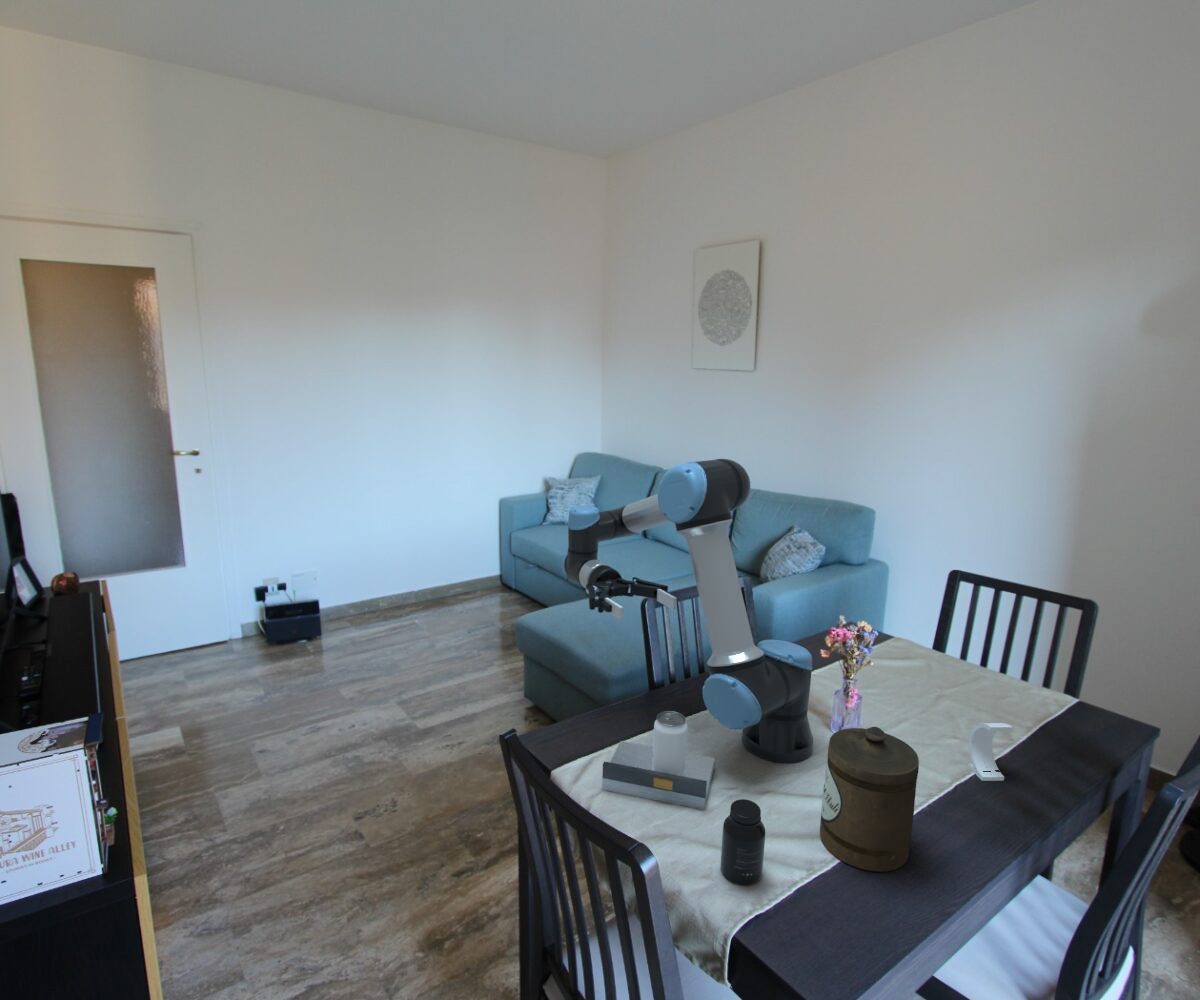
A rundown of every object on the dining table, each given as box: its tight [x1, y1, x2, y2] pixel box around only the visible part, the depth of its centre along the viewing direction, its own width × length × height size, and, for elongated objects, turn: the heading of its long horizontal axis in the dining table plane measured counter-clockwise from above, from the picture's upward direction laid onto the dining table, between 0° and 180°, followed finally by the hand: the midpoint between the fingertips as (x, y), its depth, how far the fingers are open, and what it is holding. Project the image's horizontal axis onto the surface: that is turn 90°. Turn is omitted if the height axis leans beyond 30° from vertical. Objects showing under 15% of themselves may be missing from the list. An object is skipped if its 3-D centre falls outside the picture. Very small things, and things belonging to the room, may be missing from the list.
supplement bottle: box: [720, 798, 766, 886], centre depth 115 cm, size 7×7×12 cm
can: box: [652, 710, 688, 777], centre depth 137 cm, size 6×6×12 cm
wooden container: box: [819, 726, 920, 873], centre depth 122 cm, size 15×15×22 cm
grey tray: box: [601, 740, 716, 811], centre depth 140 cm, size 20×14×6 cm
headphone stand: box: [967, 722, 1013, 782], centre depth 145 cm, size 5×6×12 cm
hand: (648, 608), depth 150 cm, fingers open, 13 cm apart
